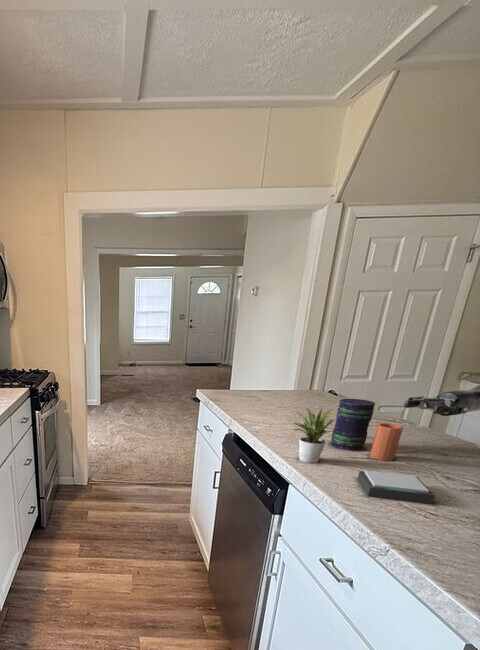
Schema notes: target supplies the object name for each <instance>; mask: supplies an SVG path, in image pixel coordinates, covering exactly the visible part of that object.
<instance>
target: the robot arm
mask: <svg viewBox="0 0 480 650" xmlns="http://www.w3.org/2000/svg"><path fill="white" fill-rule="evenodd" d="M403 406H404V408H405V409H410V408H418V409H421V410H430V411H433V414H434V415H439V416H442V417H449V416H457V415H463V414H466V413H472V412H477V411H480V384H478V385H476V386H474V387H472V388H471V389H466V390H461V389H460V390H451V391H444V392H441V393H439V394H438V395H436V396H433V397H425V396H413V397H412V396H411V397H408V399H407V400H406V401H405V402H404V405H403Z"/></svg>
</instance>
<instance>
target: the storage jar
mask: <svg viewBox="0 0 480 650" xmlns="http://www.w3.org/2000/svg"><path fill="white" fill-rule="evenodd" d="M375 405H376V402H375V401H372V400H366V399H360V398H343V399H339V404H338V407H337V410H336V411H337V412H336V414H335V418H336V419H337V420H336V419H335V425H334V428H332V429H333V430H332V433H331V438H330V439H331V441H330V442H329V445H330V447H333V448H335V449H339V450H342V451H351V452H358V451H363V450H364V448H365V446H364V445H365V444H366V442H367V437H368V430H369V425H370V422H371V421H372V417H373V415H374V409H375ZM336 431H338V432H336Z"/></svg>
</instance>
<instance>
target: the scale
mask: <svg viewBox="0 0 480 650" xmlns="http://www.w3.org/2000/svg"><path fill="white" fill-rule="evenodd" d="M357 480H358V482H359V484H360V485H361V487H362V489H363V490H364V492H365V493H366V496H367V497H374V498H381V499H388V500H389V499H391V500H398V501H406V502H412V503H413V502H414V503H420V504H421V503H422V504H430V505H433V503H434V500H435V497H436V494H435V493H433V491H432V490H431V489H430V488H428V486H427V485H426V484H425V483H424V482H423V481H422V480H421V479H420V478H419V477H418V476H416V475H411V474H402V473H392V472H381V471H372V470H359V471H358V475H357Z"/></svg>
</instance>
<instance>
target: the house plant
mask: <svg viewBox="0 0 480 650" xmlns="http://www.w3.org/2000/svg"><path fill="white" fill-rule="evenodd" d="M304 408H305V409H306V410H307V413H308V418H309V419H308V418H307V417H306V416H304V415H303V414H301V413H300V412H298V411H294V410H293V411H292V412H293V413H296V414H295V415H296V416H300V417H301V418H302V419H303V423H304V424H303V423H301V422H297V421H293V420H288V423H292V426H294V427H295V426H296V428H293V429H291V433H294V432H297V431H300V432H301V433H303V434H304V435H305V436H303V437H300V438H299V439H298V440H299V443H298V444H299V445H298V447H299V449H298V460H299V461H300V462H304V463H308V464H316V463H318V462H319V459H320V457H321V455H322V453H323V450H324V448H325V446H326V444H327V441H326V440H325V439H322V437H324V435H326V434H327V433H330V432H332V430H329V431H328V430H325V429H328V426H329V425H331V424H332V423H333V422H336V420H337V418H336V419H335V416H334V417H333V415H334V412H332V411H335V408H334V409H329V410H326V411H324V412H323V408H321V409H320V410H319V412H318V414H317V415H316V416H315V413H314V412H312V411H311V410H310V409H309V408H308V407H306V406H304ZM331 417H332V418H331ZM336 432H338V431H336Z"/></svg>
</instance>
